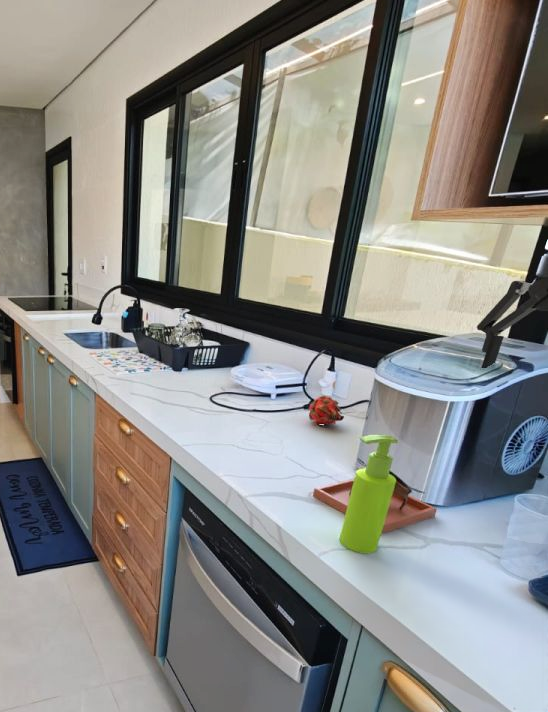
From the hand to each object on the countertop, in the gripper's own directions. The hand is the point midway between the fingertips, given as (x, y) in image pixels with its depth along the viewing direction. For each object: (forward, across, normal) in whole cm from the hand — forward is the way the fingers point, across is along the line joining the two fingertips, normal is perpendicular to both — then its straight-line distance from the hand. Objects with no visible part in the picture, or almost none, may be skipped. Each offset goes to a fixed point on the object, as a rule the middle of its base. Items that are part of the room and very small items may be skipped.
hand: (527, 379), depth 90 cm
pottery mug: (+26, -10, -19) cm, 34 cm away
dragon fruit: (+27, -49, +12) cm, 57 cm away
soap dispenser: (+27, -2, -34) cm, 43 cm away
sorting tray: (+27, -10, -19) cm, 34 cm away
